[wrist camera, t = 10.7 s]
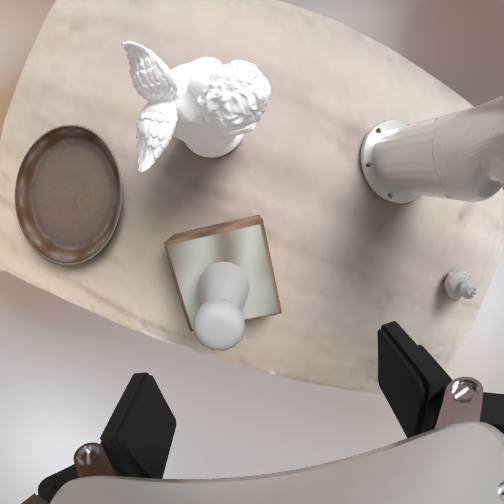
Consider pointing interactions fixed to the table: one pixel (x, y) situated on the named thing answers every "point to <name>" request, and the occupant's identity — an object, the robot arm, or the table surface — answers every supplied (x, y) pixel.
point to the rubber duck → (459, 284)
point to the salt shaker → (221, 306)
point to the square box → (225, 250)
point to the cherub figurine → (194, 103)
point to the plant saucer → (68, 194)
